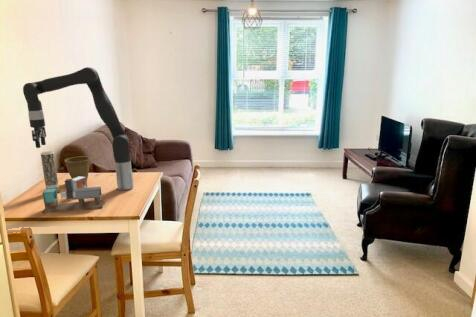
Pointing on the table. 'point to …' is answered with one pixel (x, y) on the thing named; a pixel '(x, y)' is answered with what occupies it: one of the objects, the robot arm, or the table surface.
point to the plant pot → (78, 166)
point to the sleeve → (88, 193)
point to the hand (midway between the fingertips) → (41, 146)
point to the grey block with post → (69, 190)
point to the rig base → (73, 205)
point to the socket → (50, 195)
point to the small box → (79, 182)
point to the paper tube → (49, 170)
